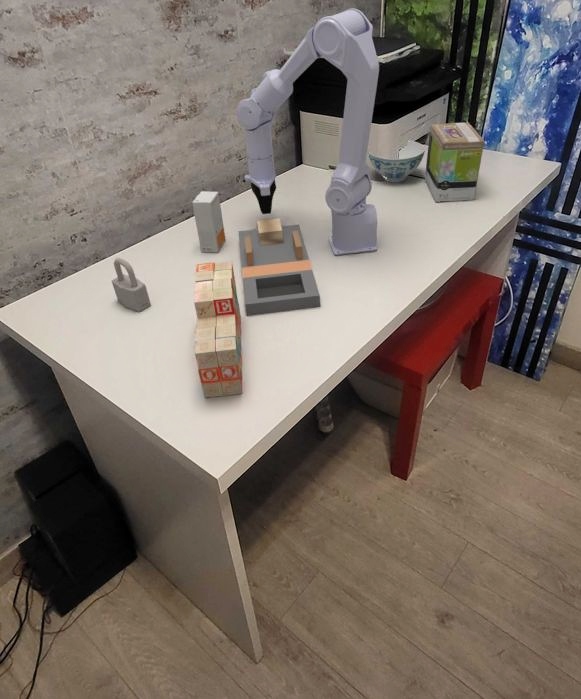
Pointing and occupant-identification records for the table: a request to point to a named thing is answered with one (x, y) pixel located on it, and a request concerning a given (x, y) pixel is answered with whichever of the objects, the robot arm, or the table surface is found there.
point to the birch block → (270, 231)
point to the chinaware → (399, 162)
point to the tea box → (453, 161)
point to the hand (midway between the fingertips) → (266, 212)
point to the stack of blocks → (218, 329)
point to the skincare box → (209, 221)
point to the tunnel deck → (277, 273)
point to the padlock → (129, 287)
